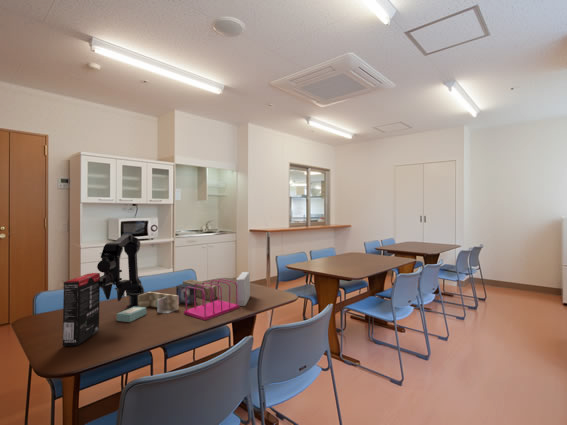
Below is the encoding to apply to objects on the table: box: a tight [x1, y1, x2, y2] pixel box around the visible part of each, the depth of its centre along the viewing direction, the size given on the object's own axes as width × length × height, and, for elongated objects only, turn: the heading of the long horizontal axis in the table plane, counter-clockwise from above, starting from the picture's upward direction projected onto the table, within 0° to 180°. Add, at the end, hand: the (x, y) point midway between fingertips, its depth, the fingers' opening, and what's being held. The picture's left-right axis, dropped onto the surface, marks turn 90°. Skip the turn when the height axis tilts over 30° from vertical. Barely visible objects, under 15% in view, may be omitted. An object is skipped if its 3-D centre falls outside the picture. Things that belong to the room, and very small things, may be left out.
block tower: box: [182, 278, 218, 301], centre depth 203 cm, size 8×8×29 cm
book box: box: [116, 306, 147, 323], centre depth 160 cm, size 8×12×4 cm, turn 165°
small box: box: [175, 283, 197, 306], centre depth 185 cm, size 11×6×10 cm, turn 68°
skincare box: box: [235, 271, 251, 307], centre depth 188 cm, size 21×6×16 cm, turn 178°
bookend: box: [156, 296, 177, 315], centre depth 169 cm, size 7×7×7 cm
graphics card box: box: [62, 272, 101, 347], centre depth 133 cm, size 17×7×27 cm, turn 5°
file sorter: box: [183, 278, 240, 321], centre depth 170 cm, size 17×25×16 cm
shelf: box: [138, 291, 180, 311], centre depth 172 cm, size 22×8×8 cm, turn 68°
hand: (113, 300), depth 150 cm, fingers open, 7 cm apart
